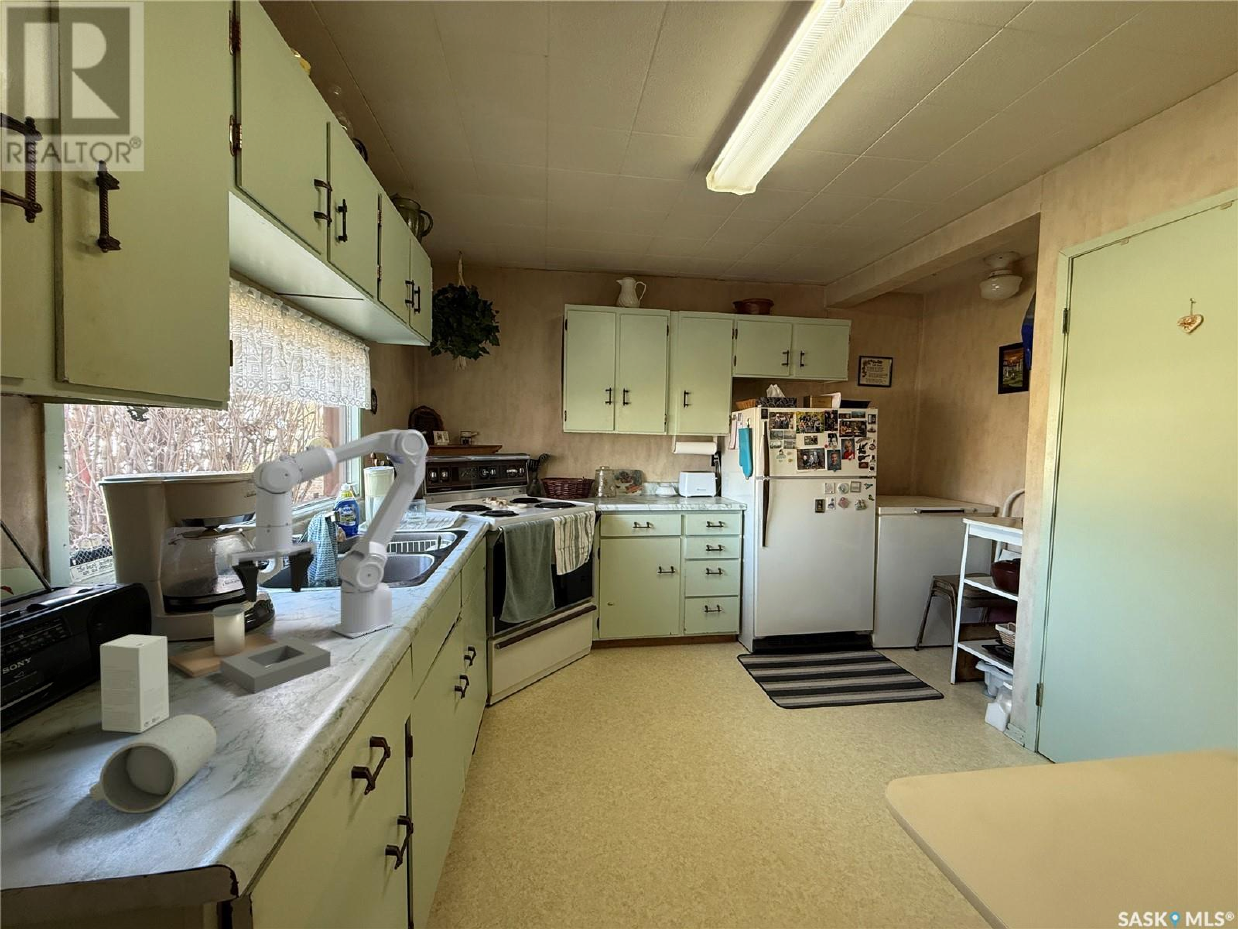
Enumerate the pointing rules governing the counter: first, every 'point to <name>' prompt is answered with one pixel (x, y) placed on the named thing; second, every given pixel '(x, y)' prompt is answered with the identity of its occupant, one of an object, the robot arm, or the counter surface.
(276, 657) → the housing
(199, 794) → the counter surface
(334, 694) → the counter surface
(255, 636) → the board
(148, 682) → the skincare box
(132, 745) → the ceramic mug
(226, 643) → the cartridge
